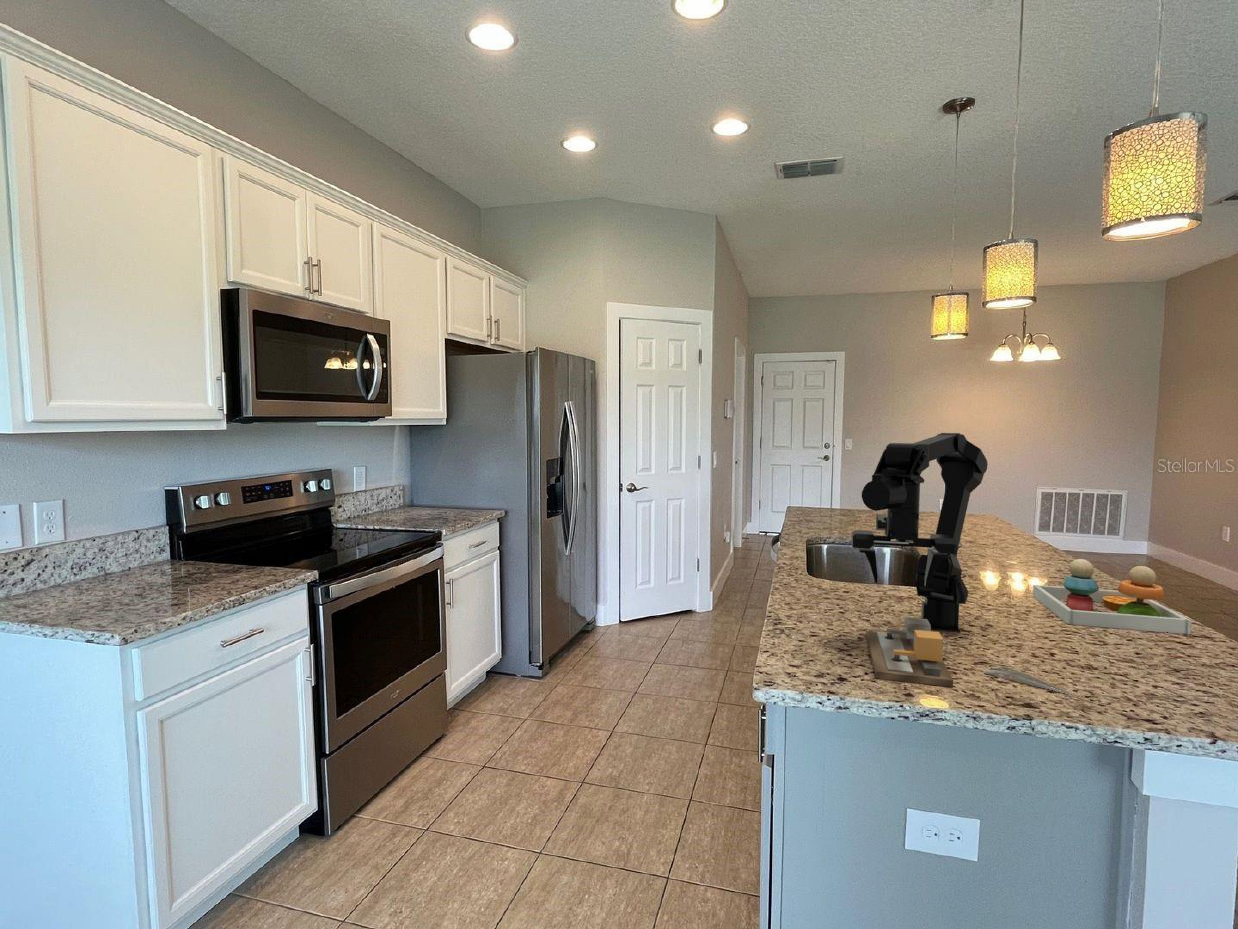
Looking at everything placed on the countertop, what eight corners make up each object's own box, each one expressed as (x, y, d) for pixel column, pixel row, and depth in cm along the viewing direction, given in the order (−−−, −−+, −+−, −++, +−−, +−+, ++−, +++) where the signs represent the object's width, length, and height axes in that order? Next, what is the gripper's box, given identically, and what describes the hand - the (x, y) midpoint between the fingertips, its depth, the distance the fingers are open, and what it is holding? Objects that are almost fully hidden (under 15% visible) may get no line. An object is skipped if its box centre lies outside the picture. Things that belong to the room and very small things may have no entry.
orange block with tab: (937, 658, 112) (938, 632, 111) (942, 667, 108) (943, 639, 107) (892, 654, 114) (893, 627, 113) (895, 662, 110) (896, 634, 110)
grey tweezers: (981, 676, 110) (982, 665, 109) (992, 670, 113) (994, 660, 112) (1100, 720, 96) (1102, 708, 96) (1110, 712, 99) (1112, 700, 98)
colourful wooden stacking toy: (1147, 608, 149) (1150, 557, 148) (1167, 628, 134) (1170, 571, 133) (1056, 598, 158) (1058, 549, 157) (1065, 616, 143) (1068, 562, 142)
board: (930, 643, 125) (930, 616, 124) (953, 687, 104) (954, 655, 103) (865, 636, 128) (866, 611, 128) (875, 678, 107) (876, 647, 107)
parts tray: (1136, 604, 152) (1137, 592, 152) (1190, 634, 130) (1191, 620, 130) (1032, 596, 159) (1033, 584, 158) (1067, 624, 137) (1068, 610, 136)
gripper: (947, 503, 128) (944, 578, 129) (850, 500, 133) (848, 571, 134) (959, 510, 117) (956, 592, 118) (853, 506, 123) (851, 584, 124)
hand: (900, 584), depth 124 cm, fingers open, 9 cm apart
